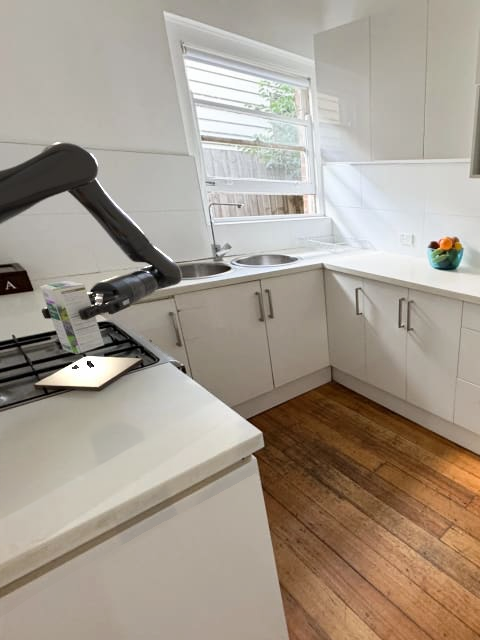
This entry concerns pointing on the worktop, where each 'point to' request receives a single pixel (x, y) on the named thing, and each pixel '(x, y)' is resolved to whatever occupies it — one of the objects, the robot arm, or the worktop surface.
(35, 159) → the robot arm
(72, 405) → the worktop surface
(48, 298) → the syrup box
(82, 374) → the walnut board
